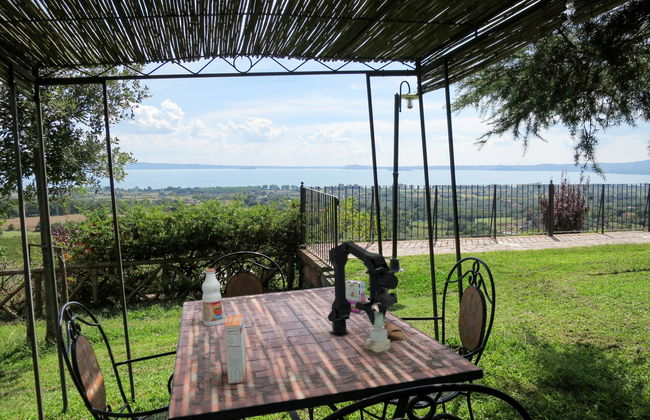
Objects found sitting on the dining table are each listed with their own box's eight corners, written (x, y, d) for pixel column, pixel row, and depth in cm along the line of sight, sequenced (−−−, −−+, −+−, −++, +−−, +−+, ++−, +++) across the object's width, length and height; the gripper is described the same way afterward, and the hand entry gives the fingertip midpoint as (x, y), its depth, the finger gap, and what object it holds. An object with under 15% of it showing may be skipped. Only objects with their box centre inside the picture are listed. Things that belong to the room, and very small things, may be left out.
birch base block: (366, 348, 198) (365, 339, 198) (379, 345, 202) (378, 335, 202) (377, 353, 193) (376, 343, 192) (390, 349, 196) (390, 339, 196)
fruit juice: (207, 321, 249) (204, 267, 248) (224, 320, 249) (222, 267, 247) (201, 326, 240) (198, 271, 239) (219, 326, 239) (216, 270, 238)
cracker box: (231, 369, 181) (228, 314, 180) (247, 368, 182) (244, 313, 181) (226, 384, 167) (223, 325, 166) (244, 383, 168) (241, 324, 167)
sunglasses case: (407, 340, 205) (399, 327, 205) (393, 349, 205) (385, 336, 205) (402, 328, 223) (394, 316, 223) (389, 336, 223) (381, 324, 223)
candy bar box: (367, 312, 253) (366, 281, 252) (360, 314, 250) (359, 283, 249) (352, 308, 262) (351, 279, 261) (345, 310, 259) (344, 280, 258)
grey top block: (370, 340, 196) (370, 330, 196) (376, 337, 200) (376, 327, 200) (381, 342, 193) (381, 332, 193) (387, 338, 198) (386, 329, 197)
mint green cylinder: (369, 325, 197) (369, 313, 197) (377, 323, 200) (377, 311, 200) (377, 328, 194) (377, 315, 193) (386, 325, 196) (385, 313, 196)
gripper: (372, 292, 184) (374, 332, 185) (406, 284, 195) (407, 322, 196) (353, 288, 193) (355, 326, 194) (387, 281, 204) (388, 317, 205)
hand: (377, 323), depth 197 cm, fingers closed on mint green cylinder, 5 cm apart
